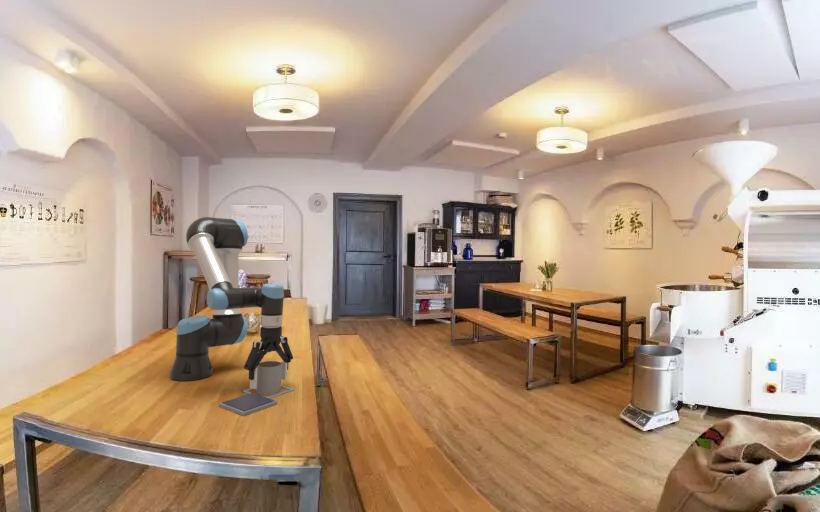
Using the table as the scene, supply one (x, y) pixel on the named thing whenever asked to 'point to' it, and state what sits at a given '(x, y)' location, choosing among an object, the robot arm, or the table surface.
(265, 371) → the cup
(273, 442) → the table surface
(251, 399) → the pad
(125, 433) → the table surface
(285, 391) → the marked square
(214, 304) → the robot arm
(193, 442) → the table surface
